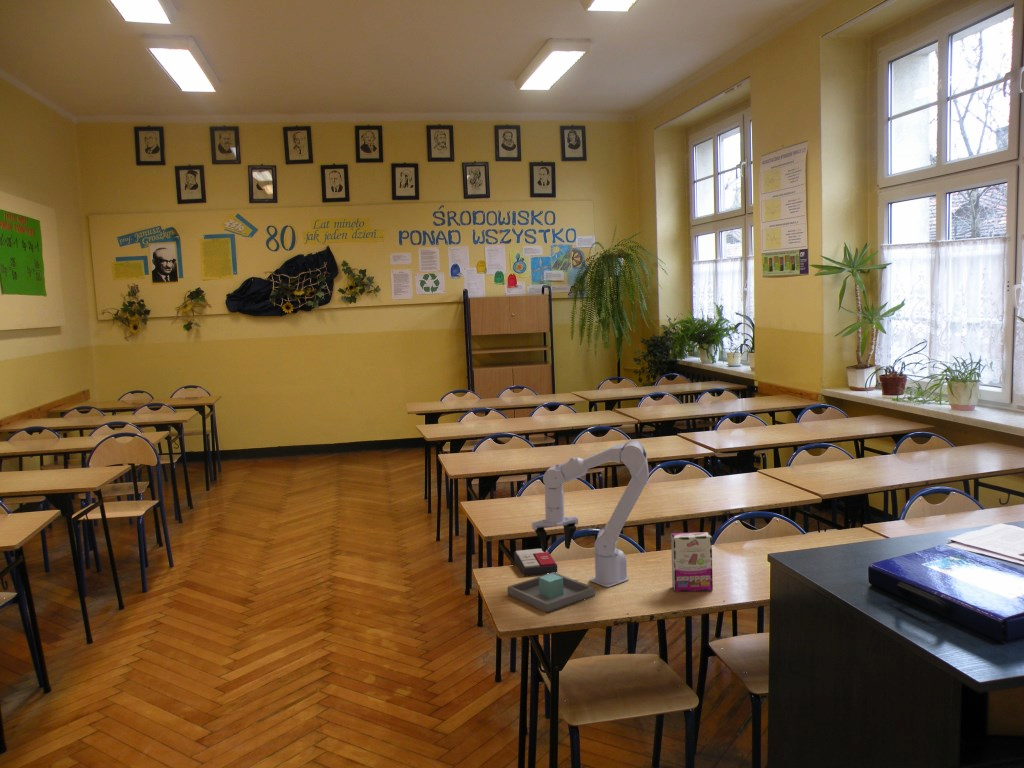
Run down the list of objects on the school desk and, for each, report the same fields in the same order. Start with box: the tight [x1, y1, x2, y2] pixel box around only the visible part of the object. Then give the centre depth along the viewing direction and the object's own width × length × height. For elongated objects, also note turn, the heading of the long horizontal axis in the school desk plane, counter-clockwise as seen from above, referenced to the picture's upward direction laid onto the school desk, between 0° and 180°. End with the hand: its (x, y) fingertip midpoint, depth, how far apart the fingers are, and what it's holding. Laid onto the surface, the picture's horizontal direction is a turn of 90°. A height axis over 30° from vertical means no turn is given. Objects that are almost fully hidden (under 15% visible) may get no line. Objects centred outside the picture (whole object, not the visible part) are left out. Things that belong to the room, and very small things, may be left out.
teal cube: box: [538, 573, 564, 599], centre depth 223 cm, size 5×5×5 cm
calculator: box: [513, 548, 558, 577], centre depth 248 cm, size 11×4×15 cm
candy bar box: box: [670, 531, 714, 593], centre depth 225 cm, size 11×5×16 cm, turn 89°
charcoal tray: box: [507, 572, 596, 614], centre depth 224 cm, size 18×18×2 cm
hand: (555, 549), depth 236 cm, fingers open, 7 cm apart
